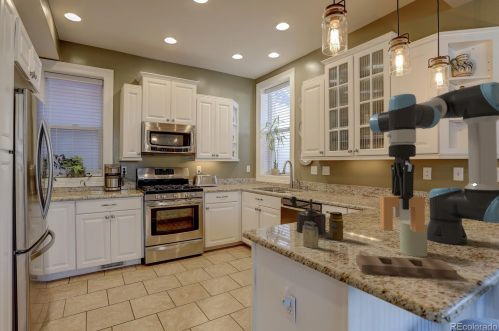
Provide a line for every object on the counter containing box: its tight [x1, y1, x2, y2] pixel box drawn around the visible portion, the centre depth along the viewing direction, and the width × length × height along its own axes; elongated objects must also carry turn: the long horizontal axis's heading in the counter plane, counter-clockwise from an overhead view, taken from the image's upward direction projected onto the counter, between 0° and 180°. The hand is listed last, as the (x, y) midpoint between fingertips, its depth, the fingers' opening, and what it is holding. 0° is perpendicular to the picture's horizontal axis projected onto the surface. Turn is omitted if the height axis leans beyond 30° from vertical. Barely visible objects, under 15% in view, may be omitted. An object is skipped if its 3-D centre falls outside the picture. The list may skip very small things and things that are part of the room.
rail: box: [355, 254, 458, 280], centre depth 85 cm, size 26×9×2 cm, turn 79°
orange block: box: [379, 195, 426, 232], centre depth 85 cm, size 12×4×10 cm, turn 79°
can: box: [399, 220, 429, 258], centre depth 102 cm, size 9×9×12 cm
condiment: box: [322, 211, 348, 243], centre depth 121 cm, size 7×8×12 cm
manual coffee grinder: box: [288, 195, 327, 235], centre depth 133 cm, size 16×11×18 cm
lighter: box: [302, 221, 319, 249], centre depth 110 cm, size 7×4×10 cm, turn 42°
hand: (401, 218), depth 85 cm, fingers closed on orange block, 4 cm apart
